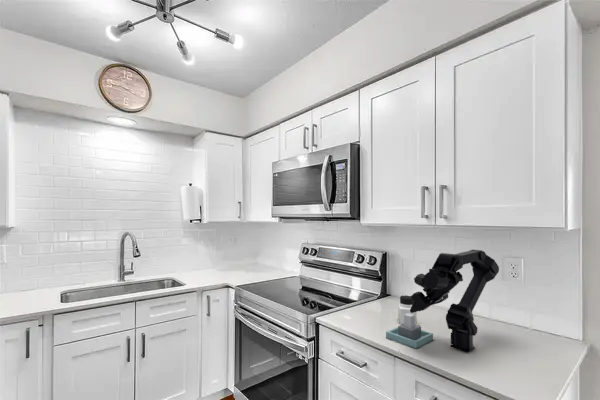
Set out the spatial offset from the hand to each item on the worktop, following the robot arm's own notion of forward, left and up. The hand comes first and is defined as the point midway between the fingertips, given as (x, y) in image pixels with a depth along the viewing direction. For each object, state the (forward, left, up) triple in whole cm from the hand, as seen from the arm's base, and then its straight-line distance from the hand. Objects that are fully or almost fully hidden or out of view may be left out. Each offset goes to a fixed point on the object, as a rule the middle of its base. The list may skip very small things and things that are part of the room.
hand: (416, 308), depth 120 cm
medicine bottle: (+14, -16, -13) cm, 25 cm away
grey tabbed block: (+3, 0, -12) cm, 12 cm away
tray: (+3, +1, -12) cm, 13 cm away
